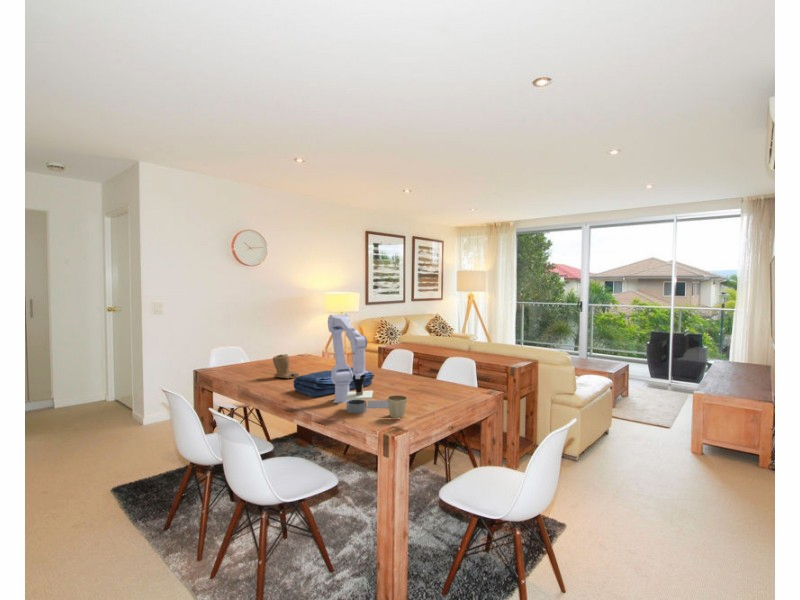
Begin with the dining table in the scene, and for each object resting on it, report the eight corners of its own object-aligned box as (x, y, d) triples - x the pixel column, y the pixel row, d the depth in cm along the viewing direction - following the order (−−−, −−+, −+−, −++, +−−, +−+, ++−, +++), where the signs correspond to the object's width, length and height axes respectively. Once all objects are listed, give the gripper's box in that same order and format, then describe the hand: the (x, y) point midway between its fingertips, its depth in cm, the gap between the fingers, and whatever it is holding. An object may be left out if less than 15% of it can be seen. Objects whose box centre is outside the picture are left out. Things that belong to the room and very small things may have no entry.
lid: (348, 393, 204) (347, 383, 203) (373, 392, 204) (372, 381, 204) (345, 400, 192) (344, 389, 191) (371, 398, 192) (371, 387, 192)
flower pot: (407, 413, 194) (407, 394, 194) (408, 420, 184) (408, 400, 184) (386, 413, 194) (386, 395, 193) (386, 420, 184) (386, 400, 184)
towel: (375, 385, 250) (375, 368, 250) (315, 399, 220) (315, 379, 219) (350, 379, 267) (349, 363, 266) (290, 391, 236) (290, 373, 236)
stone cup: (269, 378, 269) (268, 354, 268) (283, 374, 279) (283, 352, 278) (285, 381, 260) (285, 356, 260) (299, 377, 271) (299, 354, 270)
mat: (368, 401, 213) (368, 400, 213) (394, 401, 213) (394, 400, 213) (366, 409, 200) (366, 408, 200) (394, 409, 201) (394, 408, 200)
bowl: (347, 408, 201) (347, 399, 201) (366, 408, 201) (366, 399, 201) (345, 414, 192) (345, 404, 192) (365, 414, 192) (365, 404, 192)
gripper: (366, 365, 190) (366, 394, 190) (368, 359, 204) (368, 387, 205) (350, 365, 190) (351, 395, 190) (353, 359, 204) (354, 387, 205)
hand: (359, 391), depth 198 cm, fingers closed on lid, 3 cm apart
